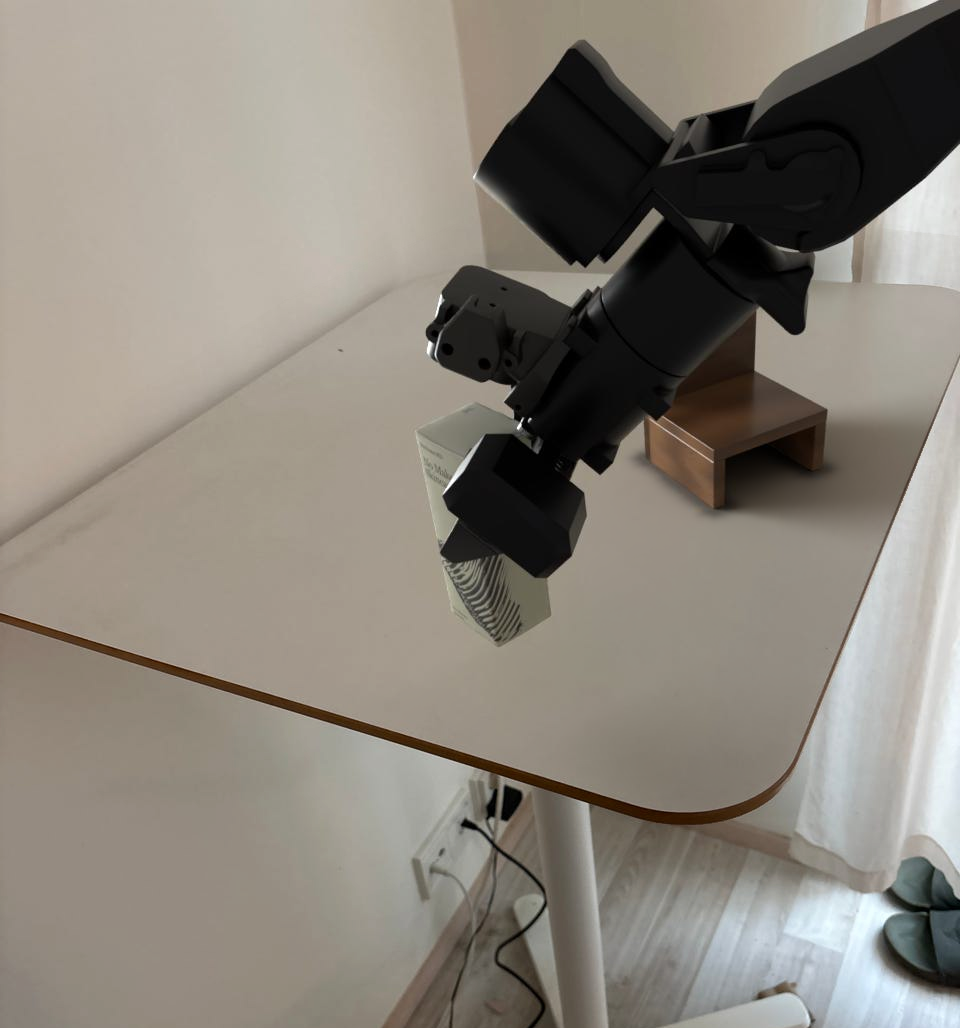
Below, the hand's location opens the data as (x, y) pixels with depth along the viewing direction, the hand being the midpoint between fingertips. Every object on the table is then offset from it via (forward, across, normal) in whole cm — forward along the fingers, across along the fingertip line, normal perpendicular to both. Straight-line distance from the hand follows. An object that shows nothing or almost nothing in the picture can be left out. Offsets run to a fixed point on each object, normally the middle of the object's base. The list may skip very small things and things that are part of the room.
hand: (464, 524), depth 54 cm
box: (+4, 0, +6) cm, 7 cm away
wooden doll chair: (-1, -27, +17) cm, 32 cm away
